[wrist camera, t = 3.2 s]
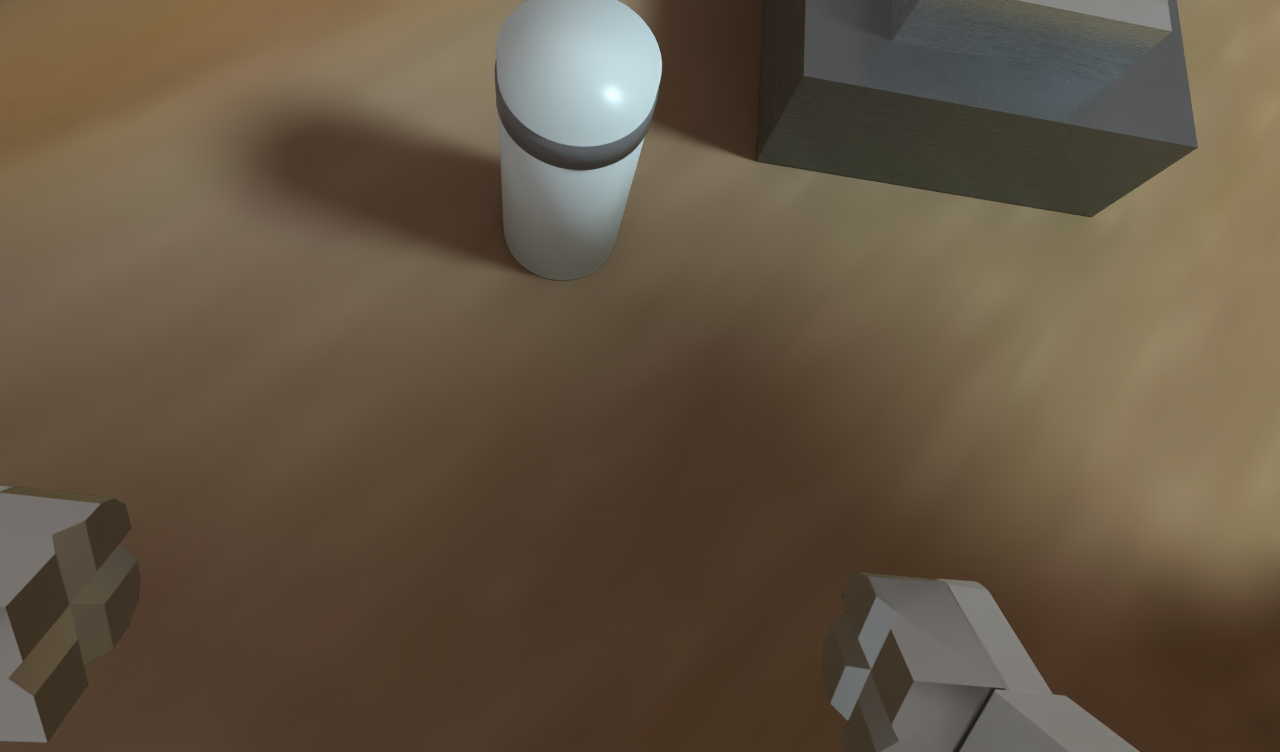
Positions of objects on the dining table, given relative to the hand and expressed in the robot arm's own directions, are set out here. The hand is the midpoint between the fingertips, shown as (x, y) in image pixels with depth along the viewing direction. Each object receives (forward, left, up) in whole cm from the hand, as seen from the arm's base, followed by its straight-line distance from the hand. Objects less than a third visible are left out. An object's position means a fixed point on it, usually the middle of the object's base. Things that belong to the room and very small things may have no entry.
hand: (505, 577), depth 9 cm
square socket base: (-14, -22, -15) cm, 31 cm away
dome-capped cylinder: (0, -12, -15) cm, 20 cm away
